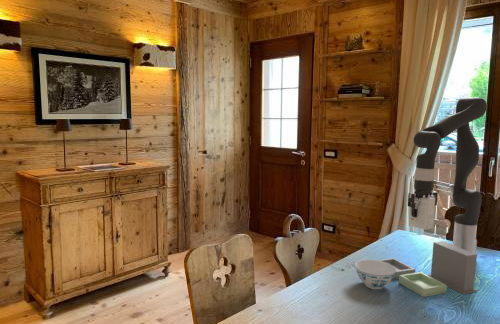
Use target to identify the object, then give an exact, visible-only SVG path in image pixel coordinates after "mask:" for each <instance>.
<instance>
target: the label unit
mask: <svg viewBox="0 0 500 324" xmlns="http://www.w3.org/2000/svg"><path fill="white" fill-rule="evenodd" d="M432 244H433V245H432V246H433V247H432V255H431V267H430V268H431V271H430V274H427V275H428V276H430V277H432V278H434V279H436V280H438V281H440V282H442V283H444V284H446V285H447V288H449V289H452V290H453V291H456V292H458V294H459V293H460V294H461V295H466V294H473V293H476V292H477V291H478V290H477V289H476V288H475V277H476V267H477V258H478V254H477V253H476V254H475V253H472V252H469V251H467V250H464V249H462V248H459V247H456V246H454V245H453V244H451V243H449V242H446V241H443V240H442V241H441V240H440V241H436V242H435V241H434V242H432Z"/></svg>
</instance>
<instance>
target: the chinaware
mask: <svg viewBox="0 0 500 324" xmlns="http://www.w3.org/2000/svg"><path fill="white" fill-rule="evenodd" d="M377 260H378V259H377ZM377 260H376V259H362V260H359V261H356V262H355V269H356V274H357V276H358V278H359V279H360V280H361V281H362V282H363V283H364V284H365V287H367V288H369V289H372V290H382V289H384V287H385V286H387V285H389V284H391V282H392V280H394V279H393V278H394V275H395V273H396V269H395V267H394V266H392V265H391V264H388V263H386V262H382V261H377Z"/></svg>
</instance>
